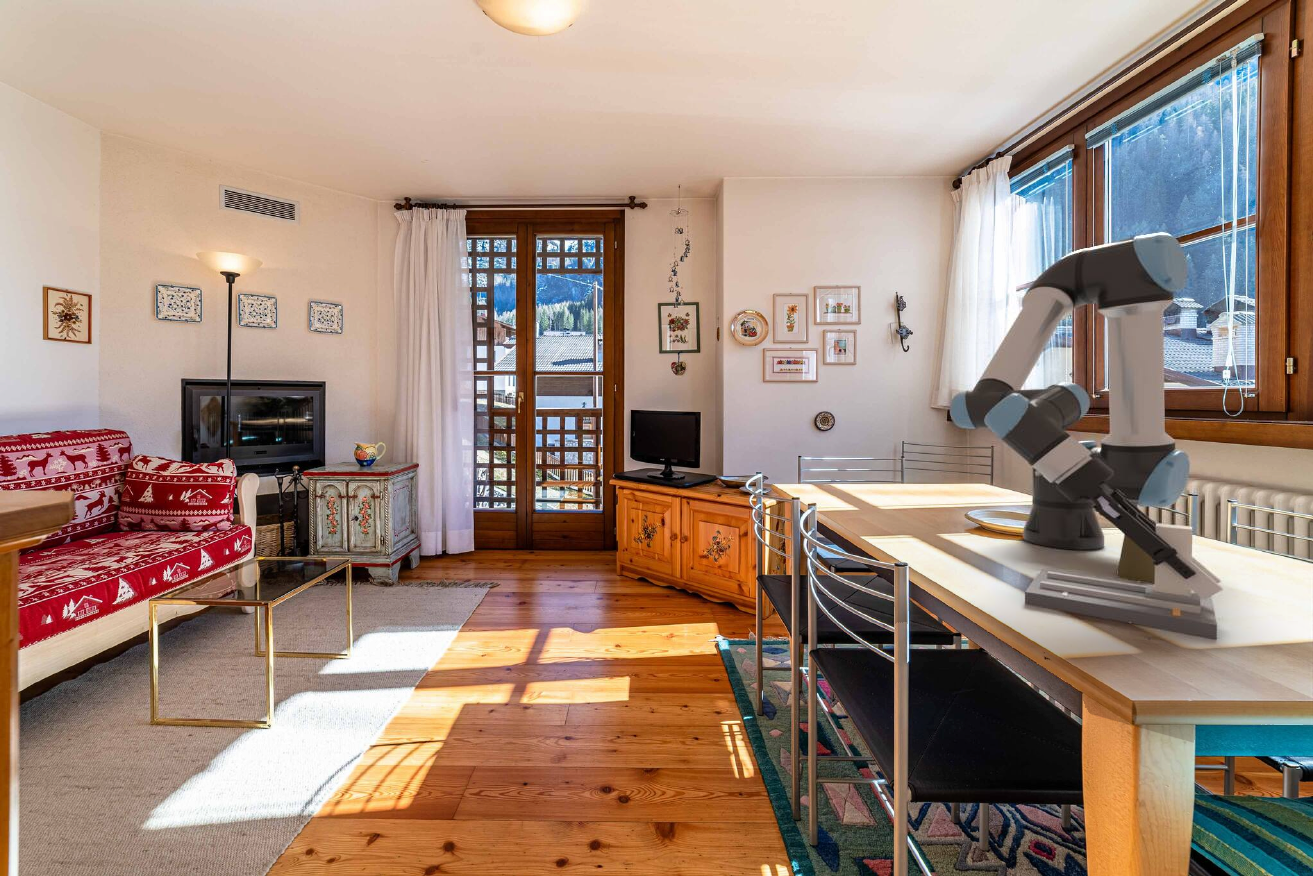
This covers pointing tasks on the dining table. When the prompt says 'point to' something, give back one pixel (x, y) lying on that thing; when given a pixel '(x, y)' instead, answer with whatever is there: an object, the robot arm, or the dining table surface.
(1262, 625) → the dining table surface
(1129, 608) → the board
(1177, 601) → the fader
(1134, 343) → the robot arm
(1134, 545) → the cork
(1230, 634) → the dining table surface
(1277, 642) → the dining table surface
